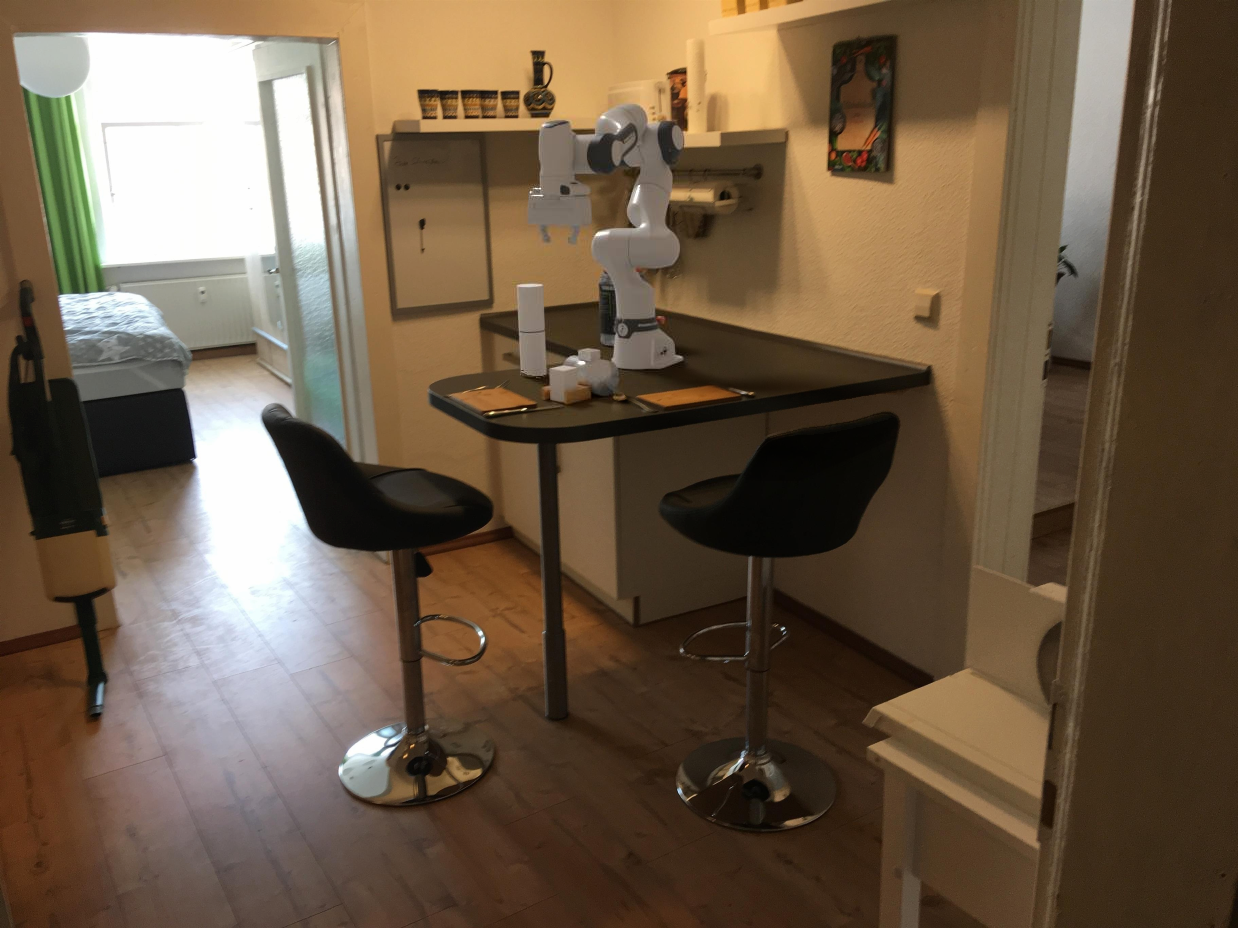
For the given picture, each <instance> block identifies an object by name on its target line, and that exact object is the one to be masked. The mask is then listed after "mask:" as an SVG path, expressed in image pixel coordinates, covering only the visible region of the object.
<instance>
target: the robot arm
mask: <svg viewBox="0 0 1238 928" xmlns="http://www.w3.org/2000/svg"><path fill="white" fill-rule="evenodd" d="M594 126H595V127H594V128H595V129H594V134H593V133H592V134H590V133H589V134H577V133H576V132H574V131H573V130H572V125H571V123H570V121H569V120H566V119H565V120H564V119H560V120H559V119H558V120H550V121H546V122H544V123H542V124H541V125H540V129H539V134H538V159H539V163H540V172H539V187H538V188H537V187H532V189H531V190H530V192H528V201H527V210H526V211H527V212H526V214H527V215H526V217H527V218H526V219H527V222H528V224H529V225H534V226H535V225H536V226H537V227H538V232H539V233H540V236H541V242H542V243H543V244H550V243H551V242H552V239H551V238H552V237H551V235H549V233H548V229H549V226H558V227H560V226H562V227H563V226H564V227H569V228H570V229H569V230H570V231H571V234H570V236H569V237H567V244H568V245H577V243H578V236H579V234H580V231H581V227H588V226H590V225H591V223H592V220H593V219H592V216H593V215H592V201H591V199H590V197H589V195H590V194H591V188H590V186H588V185H587V184H584V183H582V182H580V181H578V180H576V178H575V174H577V175H578V174H580V175H583V174H589V175H590V174H591V175H592V174H593V175H594V174H599V175H612V174H614V173H615V171H617V169H618V168H622V169H623V168H624V169H634V168H635V167H637V168H638V167H640V174H639V175H638V176H637V179H636V181H635V183H634V186H633V189H632V193H631V195H630V199H629V201H628V205H627V207H626V213H627V214H626V215H627V218H628V220H629V221H630V223H631V224H632V225H633V226H634V227H635V228H634V227H633V228H631V227H630V228H629V227H628V228H627V227H625V228H623V227H618V228H617V227H615V228H607V229H603V230H599V231H597V233H595V235H594V236H593V239H592V241H591V245H590V246H591V247H590V248H591V249H590V250H591V254H592V258H593V259H594V260H595V262H596V263H597V264H598V265H599V266H600V267H602V269H603V268H604V269H605V271H606V272H607V273H608V275H609V276H610V278H611V280H612V282H613V285H614V288H615V294H616V306H617V316H616V317H615V329H616V330H617V333H616V335H615V342H614V346H613V357H611V359H610V361H612V362H613V363H615V365H616V366H617V368H618V369H625V370H626V369H627V370H645V369H646V370H647V369H651V370H654V369H655V370H656V369H657V370H658V369H659V370H661V369H663V368H667V367H670V366H673V365H674V364H677V363H679V362H682V361H684V357H683V356H681V355H680V354H678V355H677V354H676V348H675V347H676V346H675V342H674V340H673V339H672V338H671V337H670V336H668V335H667V333H666V332H664V331H663V330H662V329H660V324H664V323H665V320H666V319H665V316H660V315H658V316H656V299H655V298H656V293H655V289H654V288H653V286H652V285H651V284H650V283H648V281H647V282H645V281H643V280H642V279H640V278H639V276H638V275H637V272H636V268H642V269H661V268H665V267H671V266H673V265H674V264H675V262H676V261H677V260H678V258H679V256H680V252H681V246H680V245H681V244H680V240H679V238H678V237H677V235H676V234H675V232H674V231H672V230H670V228H668V226H667V224H666V214H667V211H668V205H669V203H670V199H671V196H672V189H673V173H672V171H671V169H670V168H671V167H673V166H675V165H676V164H677V163H678V160H679V158H680V156H681V155H682V153H683V150H684V147H685V135H684V132H683V129H682V127H681V125H679V124H678V122H676V121H674V120H662V121H659V122H652V123H649V121H648V115H647V112H646V111H645V109H644V108H643V107H641V106H640V105H639V104H636V103H624V104H620V105H617V106H614V107H612V108H610V109H608V110H607V111H605V112H603V113H602V114H601V115H600V116H599V117H598V119H597V120H596V123H595V125H594Z"/></svg>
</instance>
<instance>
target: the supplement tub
mask: <svg viewBox="0 0 1238 928" xmlns="http://www.w3.org/2000/svg"><path fill="white" fill-rule="evenodd" d="M602 270H603V274H602V275H601V276H600V278H599V279H598V305H599V306H598V308H599V310H598V311H599V312H598V313H599V338H600V342H601V344H603V345H605V346H611V347H614V342H615V335H616V333H617V330H616V329H615V317H616V316H617V306H616V294H615V288H614V285H613V282H612V280H611V278H610V276H609V275H608V273H607V272H606V271H605V269H604V268H603V267H602ZM636 272H637V275H638V276H639V278H640V279H642V280H643V281H645V282H647V283H648V280H647V277H646V275H644V273H643V268H636Z"/></svg>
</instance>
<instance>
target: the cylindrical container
mask: <svg viewBox="0 0 1238 928" xmlns="http://www.w3.org/2000/svg"><path fill="white" fill-rule="evenodd" d="M516 293H517V295H516V296H517V316H518V317H517V319H518V335H519V358H520V359H519V361H520V373H521V372H522V373H525V374H527V375H532V376H543V375H546V374H547V357H546V356H547V355H546V330H545V329H546V328H545V327H546V326H545V307H544V306H545V305H544V303H545V302H544V285H543V284H540V283H524V284H523V283H522V284H517V285H516ZM521 370H524V371H521ZM546 376H547V375H546ZM543 377H544V376H543Z"/></svg>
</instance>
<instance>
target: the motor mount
mask: <svg viewBox="0 0 1238 928" xmlns="http://www.w3.org/2000/svg"><path fill="white" fill-rule="evenodd" d="M577 354H578V355H570V356H569V357H567V358H566V359H565V361H564V362H563V364H562V366H563V365H564V366H570V367H576V368H578V389H574V390H570V391H566V392H564V402H563V404H564V405H570V404H575V403H578V402H581V401H585V400H589V399H592V395H596V396H602V397H608V396H611V394H613V393H614V391H616V389H617V387H618V384H619V379H620V373H619V368H618V367H617V366H616V365H615V363H613V362H612V361H611V360H608V359H602V358H601V350H600V349H597V348H596V349H595V348H587V347H586V348H583V349H578V350H577ZM549 399H550V385H548V386H547V385H546V386H543V387H541V400H545V401H546V400H549ZM550 400H551V399H550Z"/></svg>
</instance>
